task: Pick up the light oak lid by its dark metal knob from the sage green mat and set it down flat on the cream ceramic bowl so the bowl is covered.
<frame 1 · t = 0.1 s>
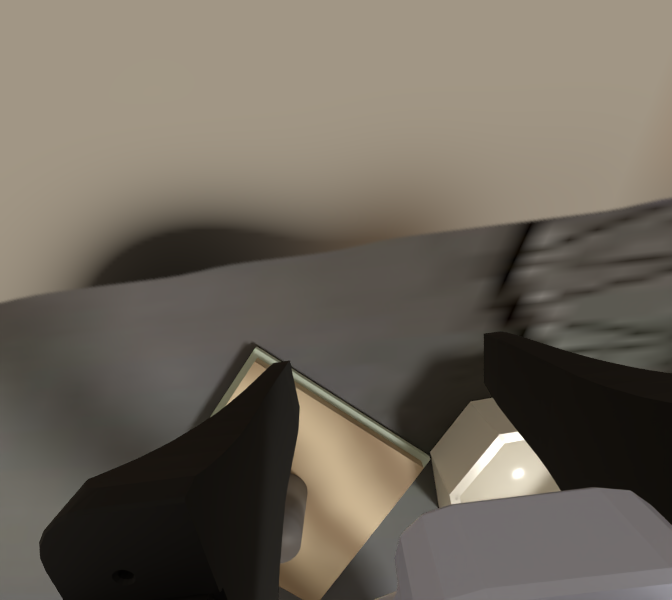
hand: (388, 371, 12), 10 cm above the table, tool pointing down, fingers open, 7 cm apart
lid: (288, 483, 24), resting on mat
mat: (289, 479, 24), on the table
bowl: (512, 468, 24), on the table
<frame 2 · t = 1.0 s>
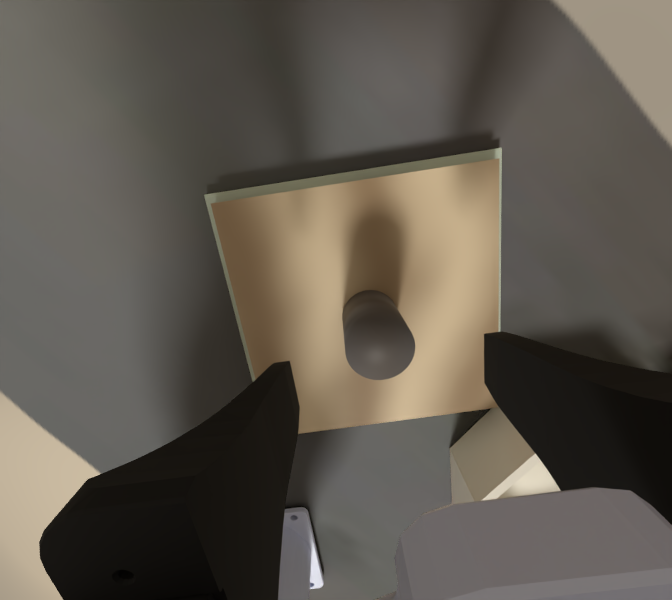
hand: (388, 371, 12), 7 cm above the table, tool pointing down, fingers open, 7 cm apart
lid: (368, 311, 18), resting on mat
mat: (367, 309, 19), on the table
bowl: (534, 466, 22), on the table
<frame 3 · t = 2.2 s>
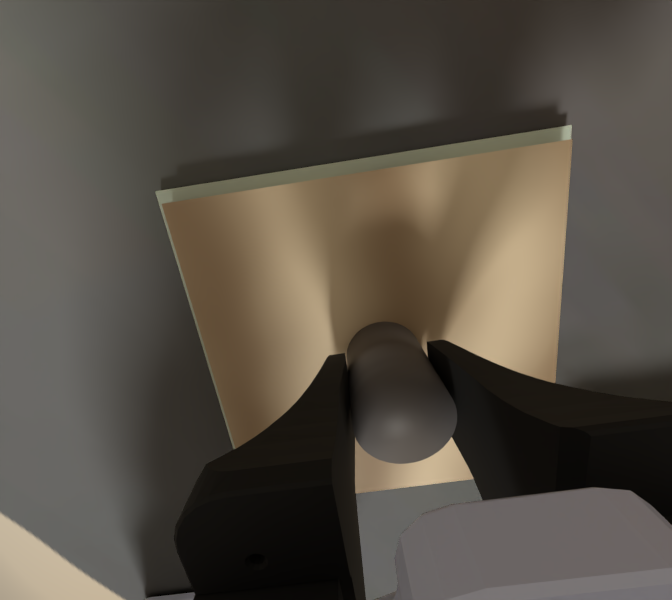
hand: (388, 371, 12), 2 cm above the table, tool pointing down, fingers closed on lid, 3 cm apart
lid: (380, 347, 14), resting on mat, touching gripper
mat: (379, 343, 14), on the table
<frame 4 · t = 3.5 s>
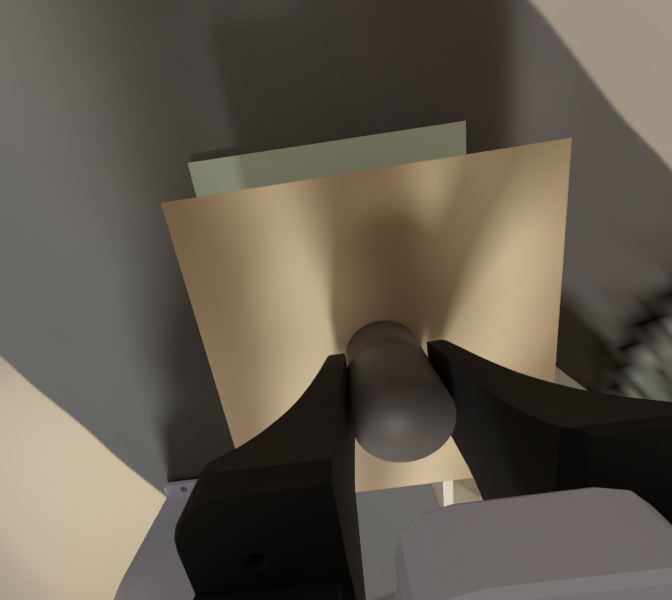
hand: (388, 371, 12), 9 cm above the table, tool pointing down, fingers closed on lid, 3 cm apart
lid: (380, 346, 14), point 7 cm above the table, touching gripper
mat: (342, 276, 20), on the table
bowl: (503, 431, 24), on the table
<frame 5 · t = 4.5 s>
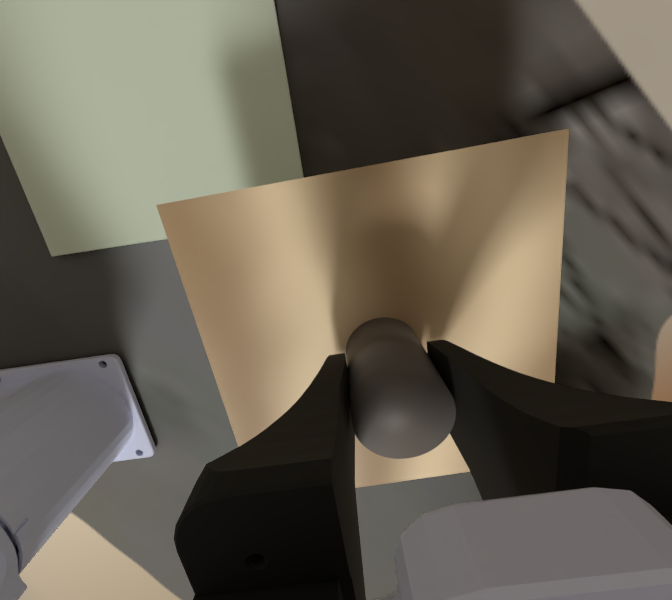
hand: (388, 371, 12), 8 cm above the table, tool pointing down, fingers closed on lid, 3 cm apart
lid: (379, 342, 14), point 6 cm above the table, touching gripper
mat: (138, 87, 16), on the table
when the fingers open (7 cm above the table, at t = 5.0 s): lid drops 1 cm, resting on bowl.
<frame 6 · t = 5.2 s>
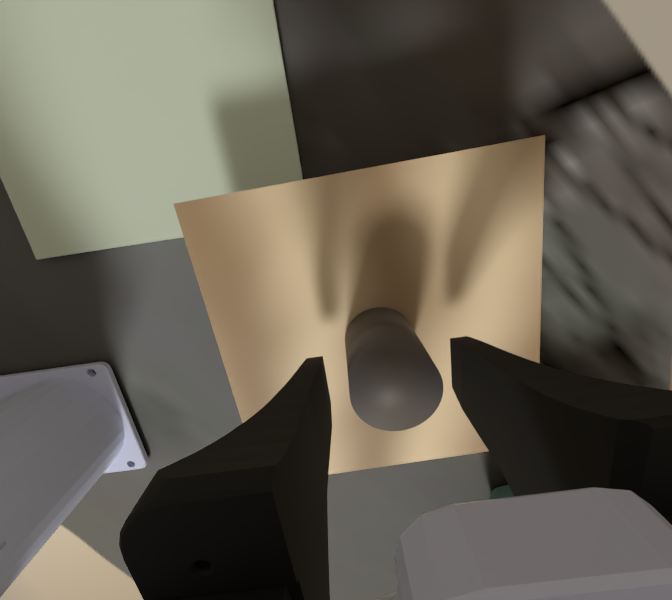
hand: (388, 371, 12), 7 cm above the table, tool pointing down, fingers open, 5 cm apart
lid: (376, 332, 15), point 4 cm above the table, touching bowl
mat: (126, 80, 15), on the table
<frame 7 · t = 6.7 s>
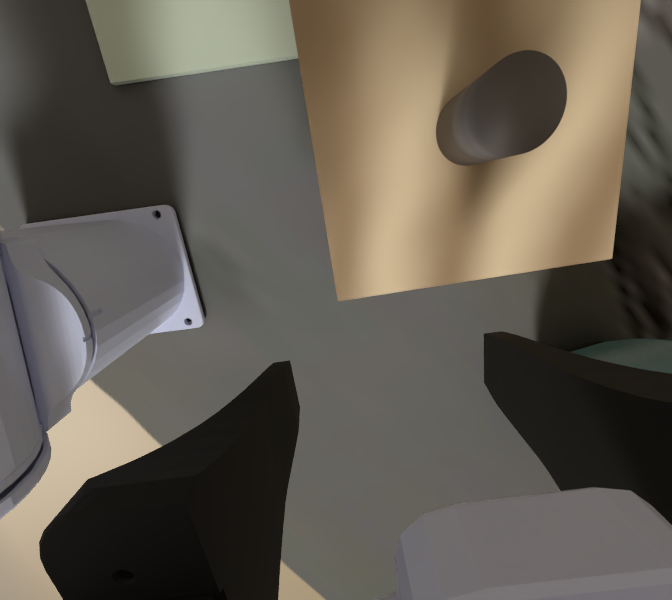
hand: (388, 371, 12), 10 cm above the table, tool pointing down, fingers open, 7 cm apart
flower pot: (573, 375, 24), on the table
lid: (462, 132, 15), point 4 cm above the table, touching bowl
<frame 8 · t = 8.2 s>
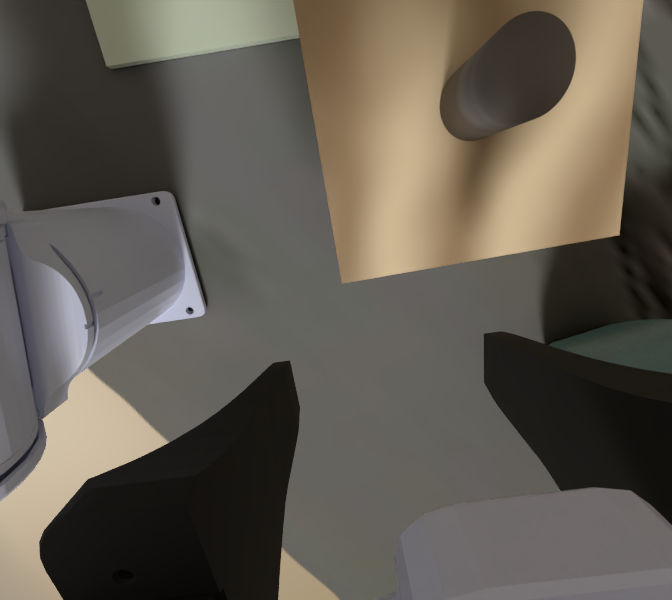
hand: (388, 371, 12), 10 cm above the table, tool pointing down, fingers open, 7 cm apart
flower pot: (579, 359, 24), on the table
lid: (466, 108, 15), point 4 cm above the table, touching bowl
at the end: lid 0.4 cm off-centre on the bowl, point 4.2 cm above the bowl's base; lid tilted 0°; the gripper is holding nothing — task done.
